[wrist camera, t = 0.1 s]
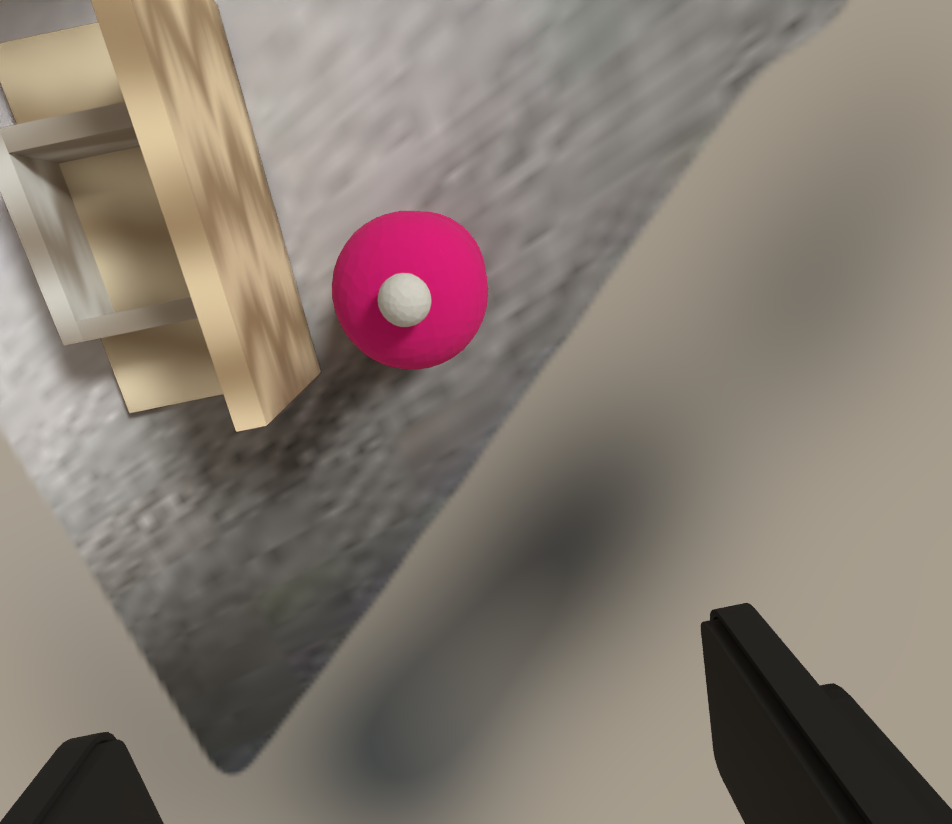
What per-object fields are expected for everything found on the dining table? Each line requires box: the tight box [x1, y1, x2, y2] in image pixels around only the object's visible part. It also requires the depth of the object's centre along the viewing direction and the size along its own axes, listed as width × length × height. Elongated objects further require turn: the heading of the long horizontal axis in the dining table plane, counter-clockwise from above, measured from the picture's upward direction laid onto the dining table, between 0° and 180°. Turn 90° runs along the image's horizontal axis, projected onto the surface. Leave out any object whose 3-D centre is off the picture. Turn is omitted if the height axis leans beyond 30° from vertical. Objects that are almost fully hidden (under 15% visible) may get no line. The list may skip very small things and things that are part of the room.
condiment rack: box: [0, 0, 321, 432], centre depth 30 cm, size 22×13×12 cm, turn 11°
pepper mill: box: [332, 211, 488, 369], centre depth 28 cm, size 7×7×20 cm
